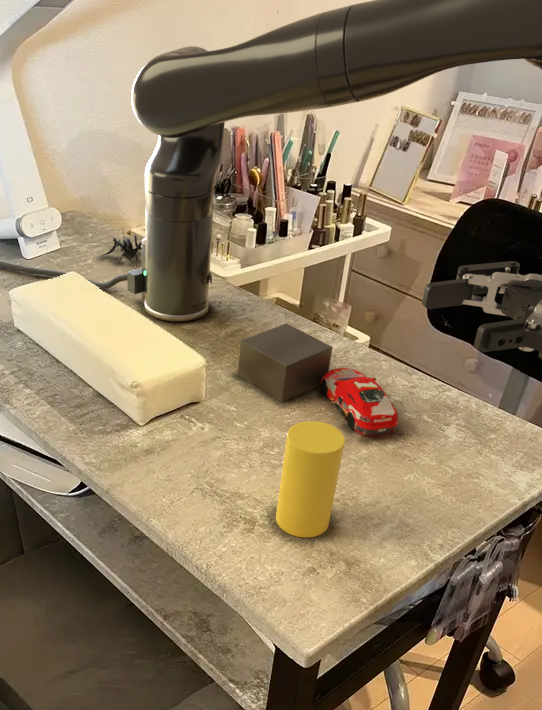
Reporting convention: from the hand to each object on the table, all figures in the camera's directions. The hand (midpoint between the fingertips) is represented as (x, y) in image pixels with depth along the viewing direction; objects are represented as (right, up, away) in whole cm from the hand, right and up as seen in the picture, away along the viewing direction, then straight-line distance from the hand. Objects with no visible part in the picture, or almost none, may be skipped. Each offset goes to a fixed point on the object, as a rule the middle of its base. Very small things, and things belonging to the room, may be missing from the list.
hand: (450, 316), depth 65 cm
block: (-9, 0, +32) cm, 34 cm away
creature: (-31, +24, +62) cm, 74 cm away
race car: (-1, -5, +27) cm, 28 cm away
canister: (-11, -18, +11) cm, 23 cm away
